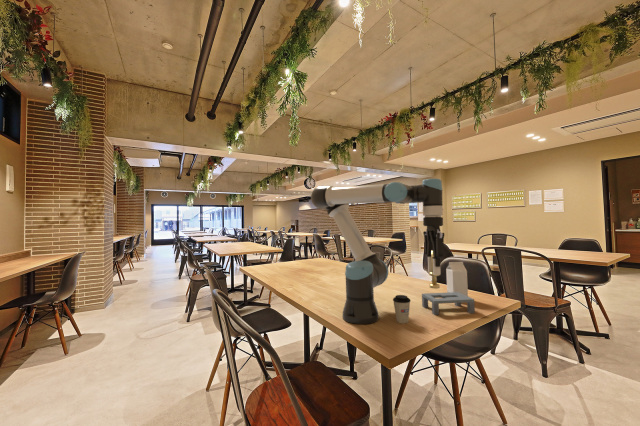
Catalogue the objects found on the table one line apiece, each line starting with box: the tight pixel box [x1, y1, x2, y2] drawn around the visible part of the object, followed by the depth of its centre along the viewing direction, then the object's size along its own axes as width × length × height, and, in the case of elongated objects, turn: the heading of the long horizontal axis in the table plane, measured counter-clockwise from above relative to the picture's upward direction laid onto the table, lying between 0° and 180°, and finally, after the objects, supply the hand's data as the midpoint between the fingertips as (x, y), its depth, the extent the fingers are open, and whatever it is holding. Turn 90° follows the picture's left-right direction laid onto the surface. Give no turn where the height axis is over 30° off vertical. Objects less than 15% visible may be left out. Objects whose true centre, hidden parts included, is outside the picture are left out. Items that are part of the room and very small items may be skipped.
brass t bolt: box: [428, 250, 440, 290], centre depth 111 cm, size 4×4×15 cm
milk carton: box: [445, 261, 469, 297], centre depth 138 cm, size 7×7×19 cm
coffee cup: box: [392, 294, 411, 324], centre depth 111 cm, size 7×7×10 cm
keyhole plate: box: [421, 292, 476, 316], centre depth 123 cm, size 18×12×6 cm, turn 94°
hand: (434, 273), depth 111 cm, fingers closed on brass t bolt, 4 cm apart
